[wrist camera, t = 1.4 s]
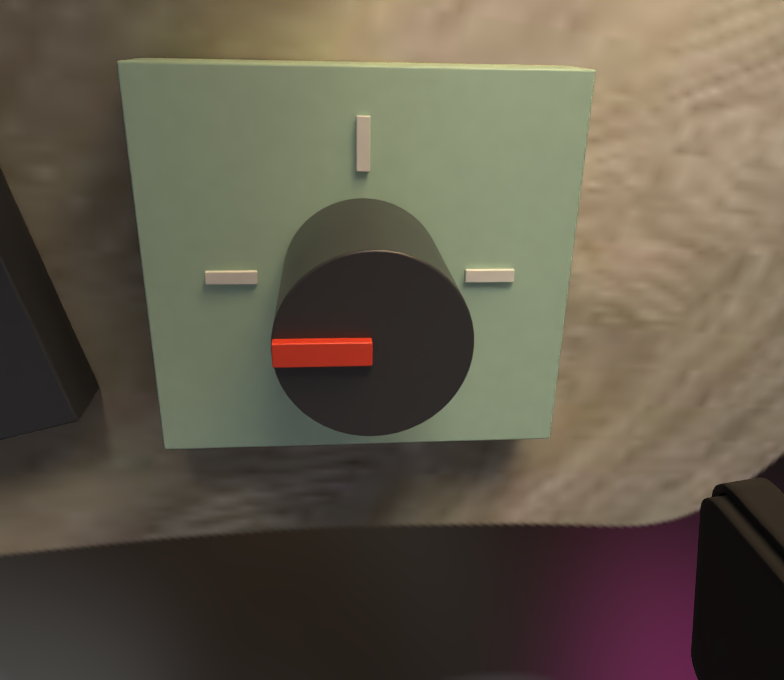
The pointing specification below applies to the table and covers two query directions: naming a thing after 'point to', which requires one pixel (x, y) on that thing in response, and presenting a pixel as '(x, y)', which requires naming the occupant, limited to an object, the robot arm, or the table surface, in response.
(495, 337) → the console
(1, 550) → the table surface
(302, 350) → the dial
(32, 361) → the button box
